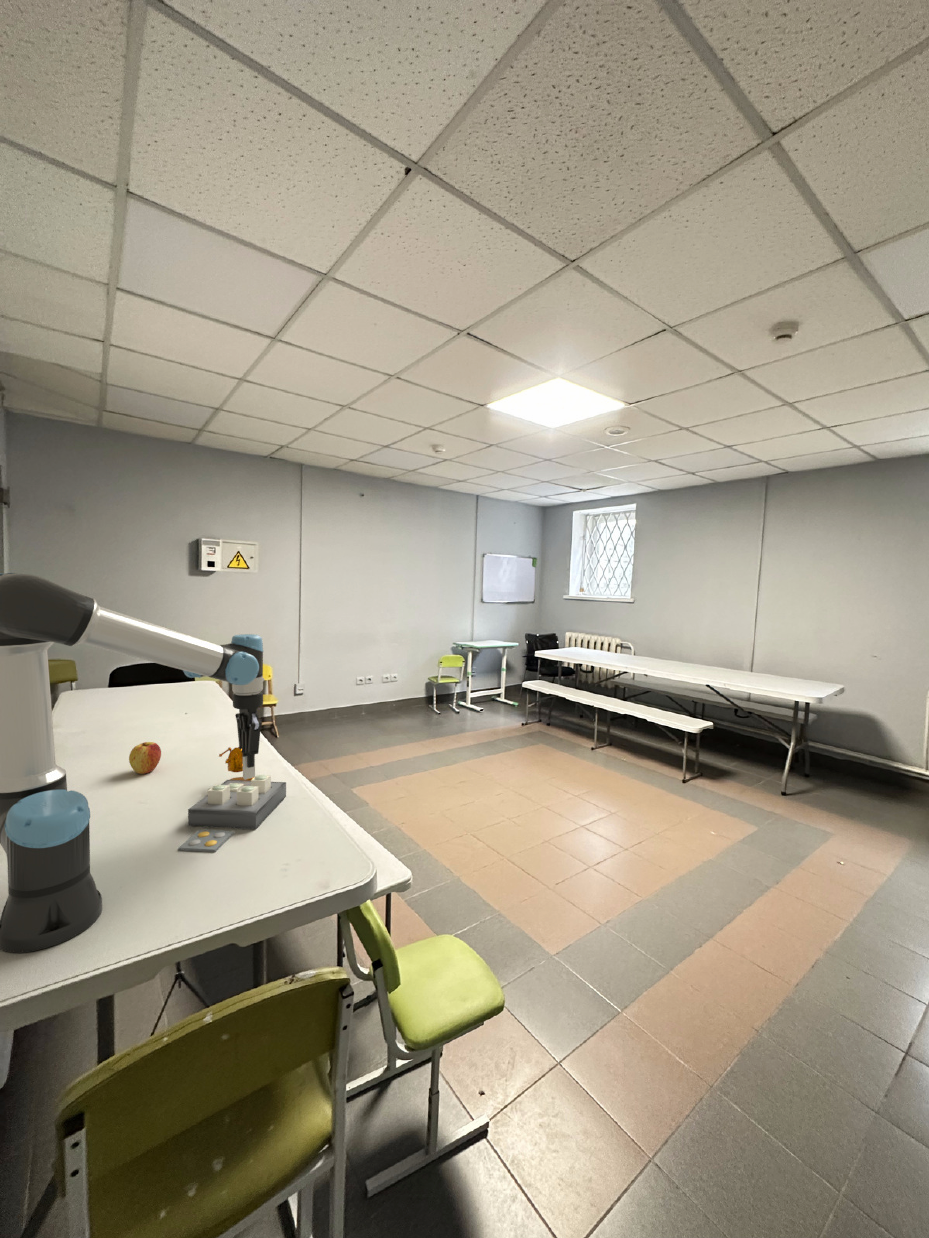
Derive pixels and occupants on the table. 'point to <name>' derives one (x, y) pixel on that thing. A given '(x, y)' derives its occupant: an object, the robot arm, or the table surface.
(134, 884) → the table surface
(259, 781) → the button far right
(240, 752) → the figurine
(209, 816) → the button box
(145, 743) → the apple
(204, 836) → the card
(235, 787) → the button far left
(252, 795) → the button near right
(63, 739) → the table surface
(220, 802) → the button near left
